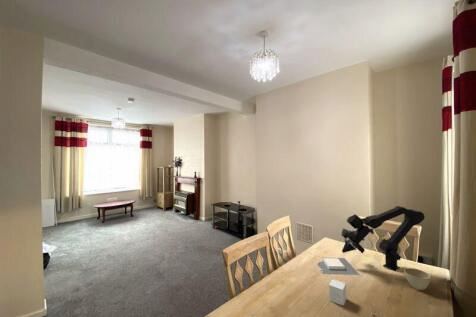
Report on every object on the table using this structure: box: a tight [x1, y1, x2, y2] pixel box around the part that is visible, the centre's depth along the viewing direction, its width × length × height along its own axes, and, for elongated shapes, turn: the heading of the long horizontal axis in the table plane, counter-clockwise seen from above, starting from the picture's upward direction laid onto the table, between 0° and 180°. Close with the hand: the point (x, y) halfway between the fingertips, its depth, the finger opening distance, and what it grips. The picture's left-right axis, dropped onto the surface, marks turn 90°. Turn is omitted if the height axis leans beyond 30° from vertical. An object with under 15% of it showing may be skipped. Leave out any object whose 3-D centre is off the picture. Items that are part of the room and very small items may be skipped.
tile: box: [322, 257, 345, 270], centre depth 124 cm, size 2×10×9 cm
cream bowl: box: [403, 267, 431, 291], centre depth 102 cm, size 10×10×7 cm
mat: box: [316, 257, 360, 276], centre depth 124 cm, size 20×20×1 cm
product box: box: [328, 278, 347, 307], centre depth 94 cm, size 6×6×7 cm
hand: (342, 252), depth 124 cm, fingers closed
